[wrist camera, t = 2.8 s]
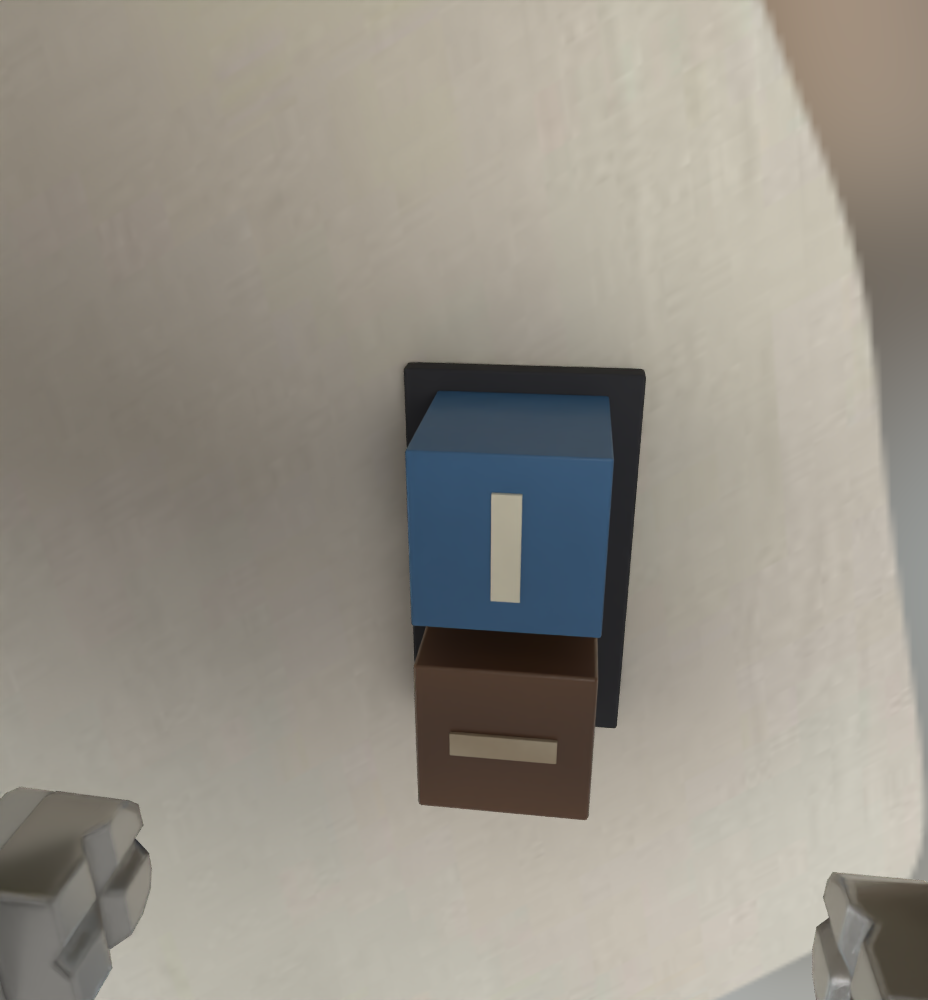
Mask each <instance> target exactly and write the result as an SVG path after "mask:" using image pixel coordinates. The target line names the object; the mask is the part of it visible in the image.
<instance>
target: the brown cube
mask: <svg viewBox="0 0 928 1000" xmlns="http://www.w3.org/2000/svg"><path fill="white" fill-rule="evenodd" d="M413 669H414V696H415V723H416V751H417V778H418V801H419V804H421V805H428V806H439V807H450V808H460V809H471V810H482V811H493V812H503V813H514V814H525V815H536V816H546V817H557V818H568V819H579V820H587V818H588V816H589V803H590V789H591V775H592V761H593V747H594V733H595V719H596V704H597V690H598V642H597V638H593V637H578V636H563V635H548V634H533V633H518V632H503V631H488V630H473V629H458V628H443V627H428V626H426V628H425V631H424V635H423V638H422V641H421V644H420V647H419V650H418V654H417V657H416V660H415V663H414V666H413Z"/></svg>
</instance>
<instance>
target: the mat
mask: <svg viewBox="0 0 928 1000" xmlns="http://www.w3.org/2000/svg"><path fill="white" fill-rule="evenodd" d="M645 383H646V376H645V372H644V370H642V369H619V368H584V367H550V366H515V365H481V364H446V363H412V362H411V363H408V365H407V366H406V367H405V369H404V385H405V413H406V441H407V447H408V445H409V443H410V442H411V440H412V438H413V436H414V434H415V432H416V430H417V429H418V427H419V425H420V423H421V421H422V419H423V418H424V416H425V414H426V412H427V410H428V408H429V406H430V405H431V403H432V401H433V399H434V397H435V395H436V394H437V392H438V391H463V392H493V393H524V394H554V395H585V396H607V397H609V404H610V417H611V430H612V443H613V456H614V466H613V480H612V494H611V508H610V522H609V537H608V551H607V565H606V579H605V593H604V607H603V621H602V635H601V637H600V638H597V642H598V690H597V704H596V719H595V727H606V728H616V726H617V717H618V705H619V693H620V681H621V669H622V657H623V645H624V633H625V621H626V609H627V597H628V585H629V574H630V562H631V550H632V538H633V526H634V514H635V502H636V490H637V478H638V466H639V454H640V442H641V431H642V419H643V407H644V395H645ZM425 628H426V626H414V625H413V635H414V663H415V660H416V657H417V654H418V650H419V647H420V644H421V641H422V638H423V635H424V631H425Z"/></svg>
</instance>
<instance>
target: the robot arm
mask: <svg viewBox="0 0 928 1000" xmlns="http://www.w3.org/2000/svg"><path fill="white" fill-rule="evenodd" d="M142 827H143V821H142V817H141V813H140V809H139V805H138V804H137V803H134V802H132V801H129V800H122V799H114V798H107V797H99V796H91V795H84V794H76V793H68V792H61V791H55V792H54V791H47V790H39V789H32V788H24V787H18V788H16V789H14V790H12V791H10V792H8V793H6V794H5V795H4V796H3V797H2V798H1V799H0V1000H94V999H95V997H96V995H97V994H98V992H99V990H100V988H101V987H102V985H103V983H104V982H105V980H106V978H107V976H108V975H109V973H110V971H111V969H112V963H111V956H110V949H111V948H113V947H114V946H116V945H117V944H119V943H120V942H122V941H123V940H124V939H126V938H127V937H129V936H130V935H132V933H133V931H134V929H135V927H136V926H137V924H138V922H139V920H140V918H141V916H142V915H143V912H144V909H145V906H146V902H147V899H148V896H149V892H150V889H151V873H152V867H151V862H150V856H149V853H148V851H147V850H146V849H145V848H144V847H143V846H142V845H141V844H140V843H139V842H138V841H137V840H136V839H135V838H136V836H137V835H138V833H139V831H140V830H141V828H142ZM823 899H824V902H825V906H826V909H827V912H828V916H829V918H828V919H827V920H825V921H824V922H823V923H821V924H820V925H819V926H817V927H816V932H815V938H814V944H813V949H812V973H813V974H812V975H813V983H814V990H815V996H816V1000H928V882H926V881H923V880H912V879H902V878H891V877H880V876H869V875H859V874H848V873H837V872H833V873H832V874H831V876H830V877H829V879H828V880H827V883H826V888H825V892H824V896H823Z"/></svg>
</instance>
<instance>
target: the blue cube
mask: <svg viewBox="0 0 928 1000" xmlns="http://www.w3.org/2000/svg"><path fill="white" fill-rule="evenodd" d="M405 461H406V489H407V516H408V543H409V570H410V597H411V623H412V625H414V626H428V627H443V628H458V629H473V630H488V631H503V632H518V633H533V634H548V635H563V636H578V637H593V638H600V637H601V635H602V621H603V607H604V593H605V579H606V565H607V551H608V537H609V522H610V508H611V494H612V480H613V466H614V456H613V443H612V430H611V417H610V404H609V397H607V396H585V395H554V394H524V393H493V392H463V391H438V392H437V394H436V395H435V397H434V399H433V401H432V403H431V405H430V406H429V408H428V410H427V412H426V414H425V416H424V418H423V419H422V421H421V423H420V425H419V427H418V429H417V430H416V432H415V434H414V436H413V438H412V440H411V442H410V443H409V445H408V447H407V449H406V451H405Z"/></svg>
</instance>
